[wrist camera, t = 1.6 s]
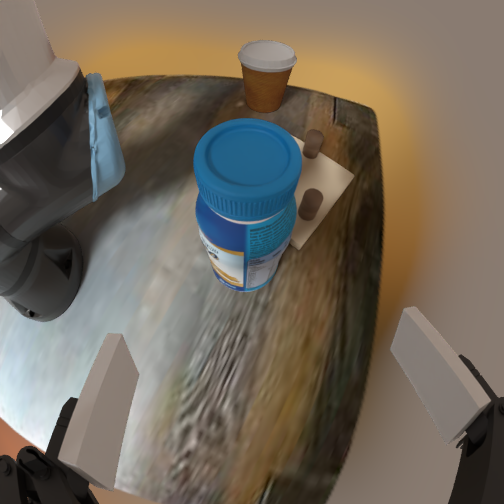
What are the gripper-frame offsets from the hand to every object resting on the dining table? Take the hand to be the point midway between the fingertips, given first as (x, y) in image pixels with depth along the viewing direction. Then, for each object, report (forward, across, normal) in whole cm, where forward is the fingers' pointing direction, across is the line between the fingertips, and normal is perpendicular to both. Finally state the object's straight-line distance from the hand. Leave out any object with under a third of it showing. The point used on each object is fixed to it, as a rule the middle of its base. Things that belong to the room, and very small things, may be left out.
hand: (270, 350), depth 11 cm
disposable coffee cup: (+44, +6, +15) cm, 47 cm away
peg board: (+30, +7, +2) cm, 31 cm away
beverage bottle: (+22, 0, -6) cm, 23 cm away
